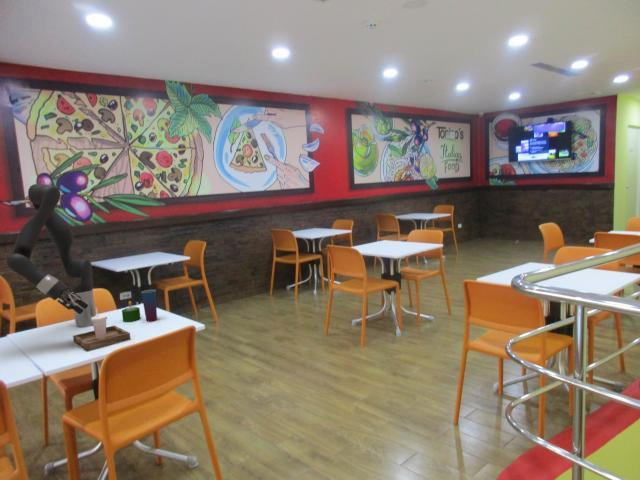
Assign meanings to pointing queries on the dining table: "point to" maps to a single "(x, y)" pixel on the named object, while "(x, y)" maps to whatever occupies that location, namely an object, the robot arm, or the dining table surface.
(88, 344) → the tray
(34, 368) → the dining table surface
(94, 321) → the smoothie
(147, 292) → the cup
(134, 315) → the candle
